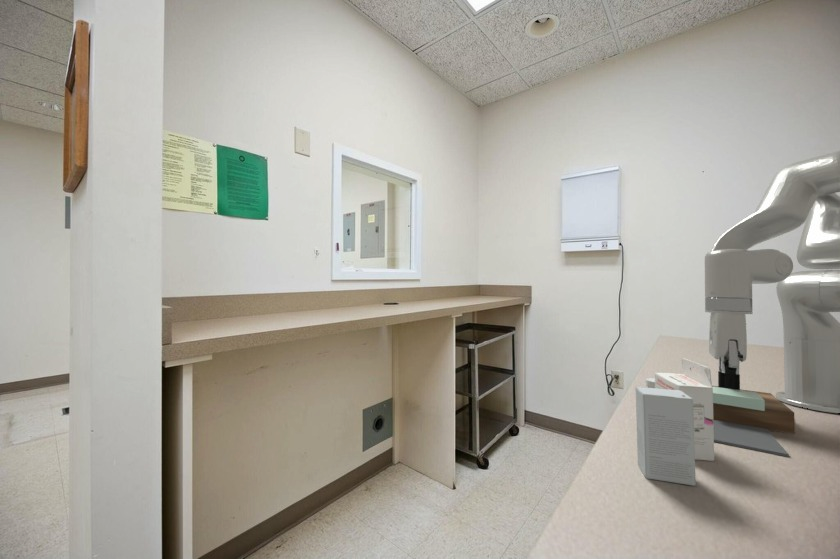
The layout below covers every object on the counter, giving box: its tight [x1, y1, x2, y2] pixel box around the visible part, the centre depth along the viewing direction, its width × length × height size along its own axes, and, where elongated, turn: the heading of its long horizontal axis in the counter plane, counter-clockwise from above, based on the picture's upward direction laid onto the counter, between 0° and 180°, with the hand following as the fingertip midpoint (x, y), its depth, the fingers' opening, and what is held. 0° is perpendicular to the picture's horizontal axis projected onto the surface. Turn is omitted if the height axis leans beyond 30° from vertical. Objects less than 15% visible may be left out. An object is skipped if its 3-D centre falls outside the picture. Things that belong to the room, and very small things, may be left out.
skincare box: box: [635, 386, 697, 487], centre depth 48 cm, size 6×4×12 cm
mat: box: [713, 420, 790, 458], centre depth 62 cm, size 12×13×1 cm
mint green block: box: [712, 387, 765, 411], centre depth 67 cm, size 6×8×2 cm
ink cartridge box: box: [654, 357, 715, 462], centre depth 56 cm, size 9×5×15 cm, turn 168°
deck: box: [712, 385, 796, 435], centre depth 72 cm, size 14×16×4 cm
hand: (728, 391), depth 71 cm, fingers closed
